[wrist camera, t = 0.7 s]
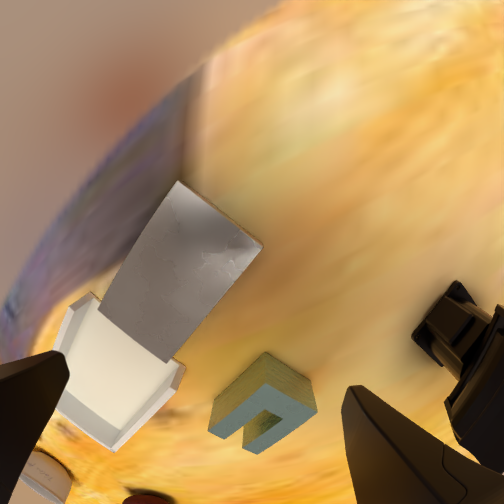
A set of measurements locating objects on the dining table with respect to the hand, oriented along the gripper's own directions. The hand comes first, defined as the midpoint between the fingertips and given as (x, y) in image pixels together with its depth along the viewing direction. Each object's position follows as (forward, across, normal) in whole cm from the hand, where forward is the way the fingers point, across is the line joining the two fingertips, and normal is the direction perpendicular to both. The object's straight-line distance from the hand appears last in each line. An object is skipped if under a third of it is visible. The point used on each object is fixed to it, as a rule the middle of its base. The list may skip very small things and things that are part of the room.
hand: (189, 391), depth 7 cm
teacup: (+13, +35, +40) cm, 55 cm away
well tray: (+13, +12, +11) cm, 21 cm away
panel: (+13, +5, +1) cm, 14 cm away
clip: (+13, -2, +11) cm, 17 cm away
